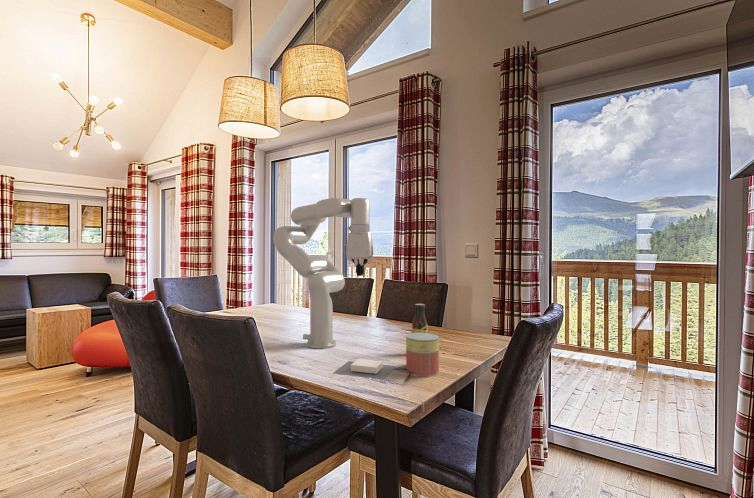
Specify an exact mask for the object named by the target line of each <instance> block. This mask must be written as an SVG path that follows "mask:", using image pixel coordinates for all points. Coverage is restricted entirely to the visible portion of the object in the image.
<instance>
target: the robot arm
mask: <svg viewBox="0 0 754 498" xmlns="http://www.w3.org/2000/svg"><path fill="white" fill-rule="evenodd" d="M370 205H371V204H370V200H369V199H368V198H365V197H355V198H352V199H349V198H347V199H346V198H342V197H329V198H324V199H321V200H319V201H316V202H315V203H311V204H306V205H301V206H298V207H295V208H294V209H293V210H292V211H291V213H290V218H291V219H290V220H291V221H292V222H293V224H295V225H296V226H295V225H282V226H279V227H277V228H276V229H275V230H274V232H273V235H272V236H273V237H272V239H273V245H274V247H275V249H276V251H277V252H278V253H279V254H280V256H281V257H282V258H284V259H285V260H286V262H288V263H289V265H290V266H291V267H292V268H293V269H294V270H295V271H296V272H297V273H298V275H300V276H301V277H302V278H306V279H307V287H308V288H307V289H308V293H309V303H310V304H309V305H310V306H309V307H310V308H309V309H310V311H309V312H310V315H309V319H310V320H309V325H310V326H309V328H310V329H309V331H310V334H309V333H304V334H302V340H307V342H306V347H308V348H310V349H323V350H324V349H329V348H333V347H336V345H337V341H336V340H334V337H333V336H334V335H333V331H334V329H333V327H334V326H333V325H334V324H333V321H334V318H333V315H334V314H333V312H334V311H333V307H334V306H333V305H334V304H333V299H332V297H331V295H330V293H331V294H332V293H336V292H339V291H341V290H343V289H344V287H345V284H346V281H345V280H346V279H345V276H344V274H343V273H342V272H341V271H340V270H339V269H338V268H337V267H336V266H335V265H334V263H332V262H331V261H330V260H329V259H328V258H326V257H324V256H312V255H309V254H308V253H307V252H306V251H304V249H303V248H302V247H300V246H298V245H305V244H306V243H308V242H309V241H310V240H311V238H312V237H313V235H314V234H315V232H316V231H317V229H318V227H320V224H321V223H324V222H325V221H326V220H327V219H328V218H332V217H333V218H336V217H337V218H338V217H339V218H346V219H350V224H349V225H350V226H347V230H348V231H349V232H348V234H347V238H346V239H347V240H346V247H345V248H346V249H345V250H346V253H345V254H346V257H347V258H346V260H347V261H349V262H352V263H353V264H354V266H355V274H356V276H357V277H358V276H360V277H363V276H364V274H365V266H366V264H367V263H368V262H372V261H374V257H373V256H374V243H373V241H374V240H373V235H372V233H371V232H370V227H371V226H370V224H371V223H370V220H371V219H370V217H371V215H370V212H371V211H370Z"/></svg>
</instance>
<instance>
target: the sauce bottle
mask: <svg viewBox="0 0 754 498" xmlns="http://www.w3.org/2000/svg"><path fill="white" fill-rule="evenodd" d="M425 309H426V304H424V303H415V304H414V312H415V313H414V317H413V318H412V322H411V324H412V326H411V333H419V332H422V333H429V331H428V330H429V328H428V322H427V318H426V315H425Z"/></svg>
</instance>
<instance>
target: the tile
mask: <svg viewBox="0 0 754 498" xmlns="http://www.w3.org/2000/svg"><path fill="white" fill-rule="evenodd" d="M353 362H354V363H353V364H351V371H354V372H363V373H372V374H377V373H378V372H379V371H380V370H381V369H382V368H383V365H384V361H382V360H372V359H364V358H363V359H362V358H357V359H356V360H355V361H353Z"/></svg>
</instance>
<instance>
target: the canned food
mask: <svg viewBox="0 0 754 498" xmlns="http://www.w3.org/2000/svg"><path fill="white" fill-rule="evenodd" d="M405 337H406V343H405V345H406V351H405V355H406V357H405V360H406V362H405V364H406V366H405V368H406V370H407V371H409V373H408V374H409V375H411V376H415V377H426V378H427V377H433V376H437V375H438V374H439V373H440V370H439V369H440V368H439V367H440V365H439V364H440V360H439V359H440V336H439V335H438V334H435V333H430V332H428V333H422V332H419V333H412V332H411V333H407V334H406V335H405Z"/></svg>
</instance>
